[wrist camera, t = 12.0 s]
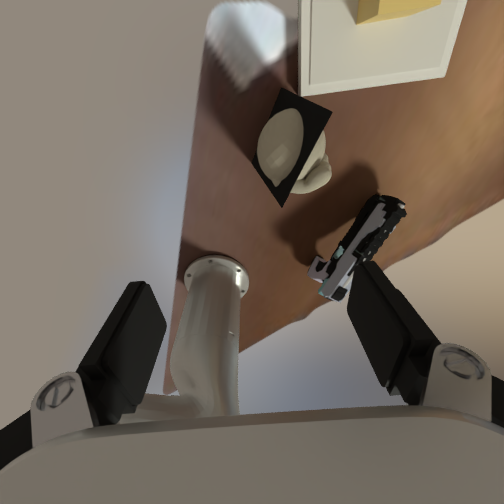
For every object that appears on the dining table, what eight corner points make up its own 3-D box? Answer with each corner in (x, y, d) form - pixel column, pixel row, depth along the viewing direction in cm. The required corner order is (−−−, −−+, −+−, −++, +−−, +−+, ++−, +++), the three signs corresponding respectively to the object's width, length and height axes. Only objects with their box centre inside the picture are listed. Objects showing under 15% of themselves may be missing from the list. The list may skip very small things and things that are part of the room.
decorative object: (325, 110, 32) (292, 176, 37) (261, 77, 28) (233, 157, 33) (386, 139, 23) (331, 220, 29) (307, 98, 19) (259, 202, 24)
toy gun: (367, 194, 41) (415, 206, 32) (312, 277, 46) (339, 309, 36) (357, 188, 41) (403, 198, 31) (302, 273, 45) (327, 304, 36)
